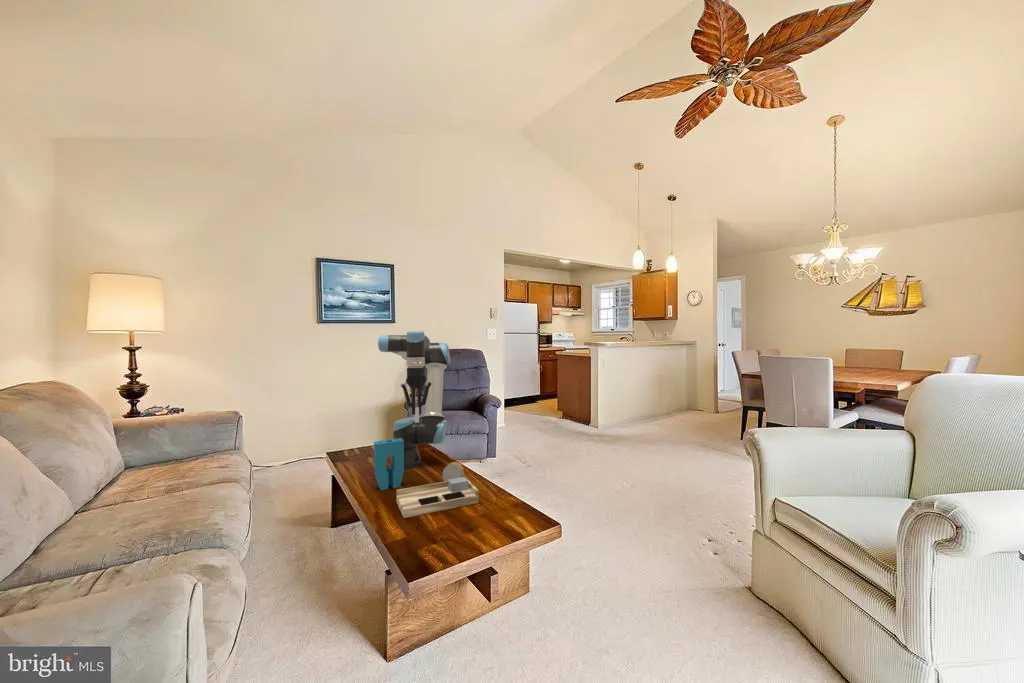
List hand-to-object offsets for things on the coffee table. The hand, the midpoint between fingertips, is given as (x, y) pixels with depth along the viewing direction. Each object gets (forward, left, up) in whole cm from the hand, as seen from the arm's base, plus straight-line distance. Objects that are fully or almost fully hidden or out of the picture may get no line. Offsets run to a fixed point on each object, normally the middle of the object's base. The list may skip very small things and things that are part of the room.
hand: (416, 421), depth 169 cm
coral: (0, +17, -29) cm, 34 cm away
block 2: (-8, -10, -29) cm, 32 cm away
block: (+15, +13, -26) cm, 33 cm away
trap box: (+17, +4, -29) cm, 34 cm away
